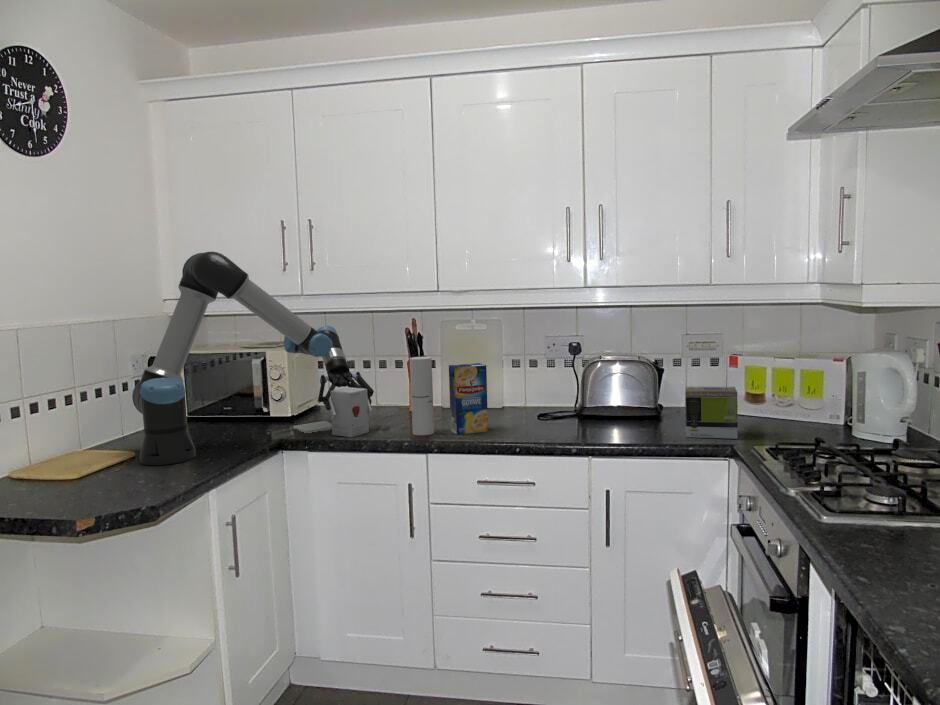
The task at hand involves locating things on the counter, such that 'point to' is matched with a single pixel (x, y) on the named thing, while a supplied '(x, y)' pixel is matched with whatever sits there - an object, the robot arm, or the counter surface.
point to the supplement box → (350, 412)
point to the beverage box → (468, 398)
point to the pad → (314, 427)
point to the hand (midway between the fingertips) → (352, 414)
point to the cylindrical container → (422, 395)
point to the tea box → (711, 412)
